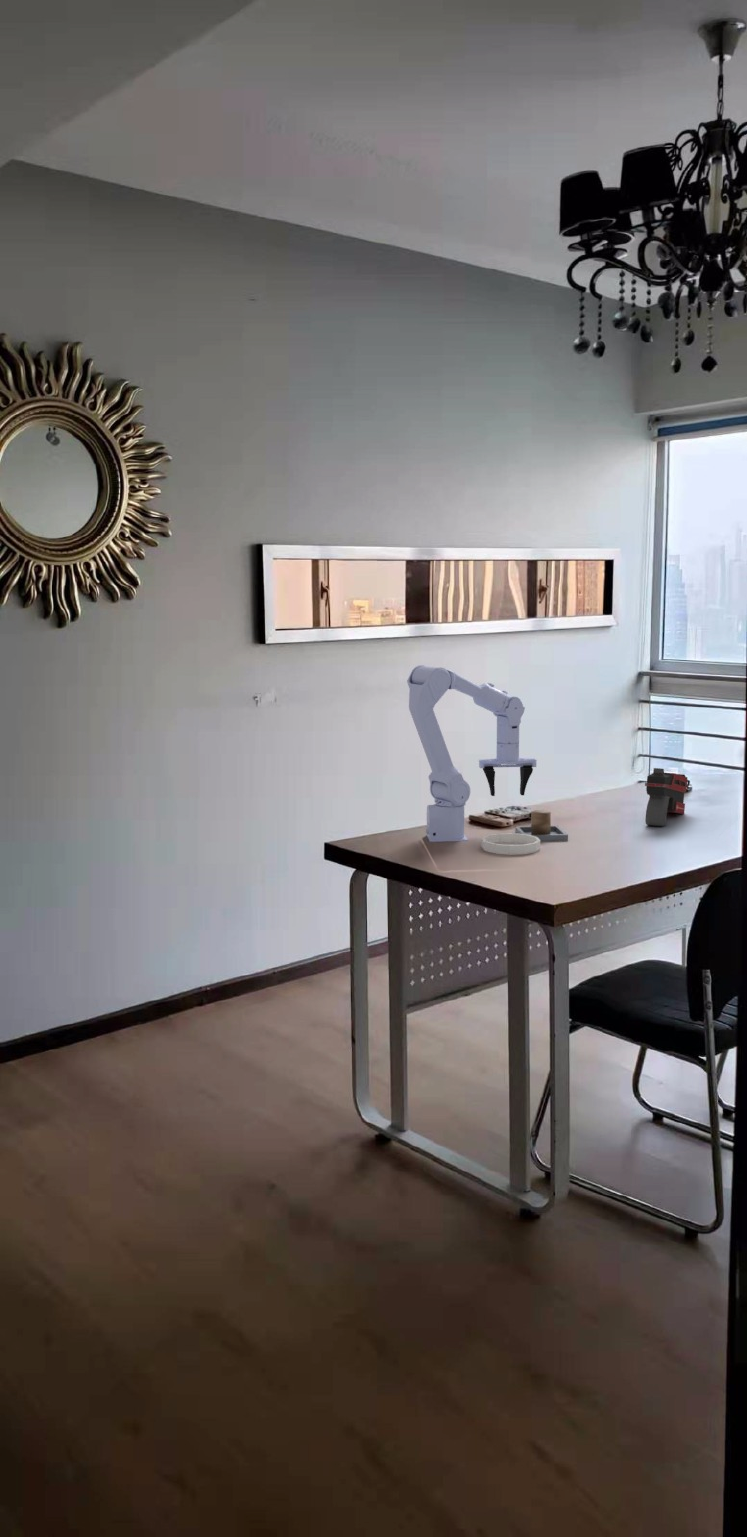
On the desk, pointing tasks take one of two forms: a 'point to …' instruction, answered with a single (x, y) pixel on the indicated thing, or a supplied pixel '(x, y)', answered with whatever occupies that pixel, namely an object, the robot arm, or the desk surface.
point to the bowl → (510, 843)
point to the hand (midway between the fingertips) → (507, 795)
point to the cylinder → (540, 822)
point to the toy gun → (664, 796)
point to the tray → (555, 835)
